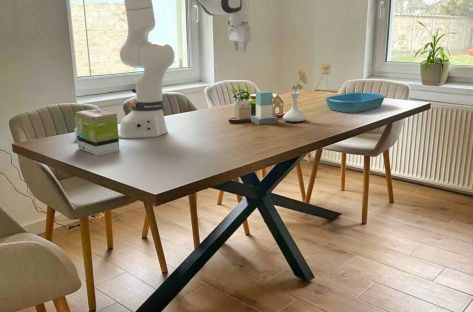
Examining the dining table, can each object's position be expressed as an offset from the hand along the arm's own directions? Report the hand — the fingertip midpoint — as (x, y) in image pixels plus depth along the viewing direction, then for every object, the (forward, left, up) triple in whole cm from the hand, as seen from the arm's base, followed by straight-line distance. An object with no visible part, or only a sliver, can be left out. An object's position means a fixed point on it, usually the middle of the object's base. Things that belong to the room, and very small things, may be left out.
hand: (239, 51), depth 235 cm
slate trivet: (+7, -13, -33) cm, 36 cm away
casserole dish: (+68, 0, -34) cm, 76 cm away
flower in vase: (+22, -17, -33) cm, 43 cm away
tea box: (-73, -36, -33) cm, 88 cm away
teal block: (+7, -13, -24) cm, 29 cm away
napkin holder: (-77, -11, -34) cm, 85 cm away
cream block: (+7, -13, -30) cm, 34 cm away
